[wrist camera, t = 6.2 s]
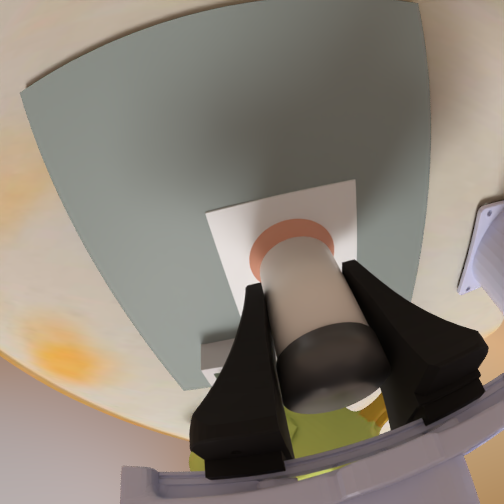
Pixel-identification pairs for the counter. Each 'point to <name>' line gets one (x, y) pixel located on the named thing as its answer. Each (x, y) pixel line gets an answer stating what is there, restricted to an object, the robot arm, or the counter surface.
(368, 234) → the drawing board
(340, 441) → the toy
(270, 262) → the jar with dark lid
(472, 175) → the counter surface
